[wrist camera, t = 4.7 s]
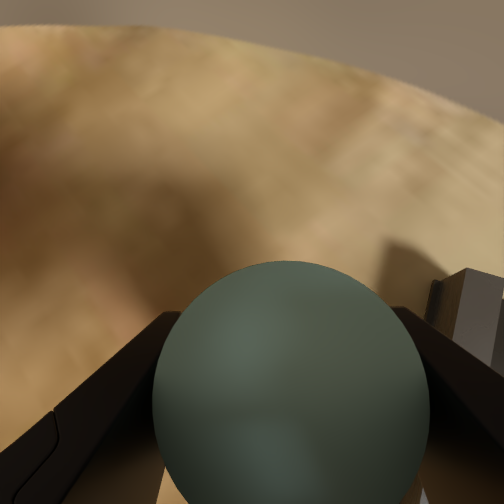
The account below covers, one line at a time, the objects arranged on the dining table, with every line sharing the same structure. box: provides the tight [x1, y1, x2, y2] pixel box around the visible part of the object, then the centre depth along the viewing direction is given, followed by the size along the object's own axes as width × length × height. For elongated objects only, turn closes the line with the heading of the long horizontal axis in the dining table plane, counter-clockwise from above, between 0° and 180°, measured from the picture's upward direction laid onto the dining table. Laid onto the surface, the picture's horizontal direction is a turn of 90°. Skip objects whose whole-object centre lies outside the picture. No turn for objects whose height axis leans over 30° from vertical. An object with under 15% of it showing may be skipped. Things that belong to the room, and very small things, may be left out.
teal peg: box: [152, 261, 430, 504], centre depth 11 cm, size 4×4×9 cm
